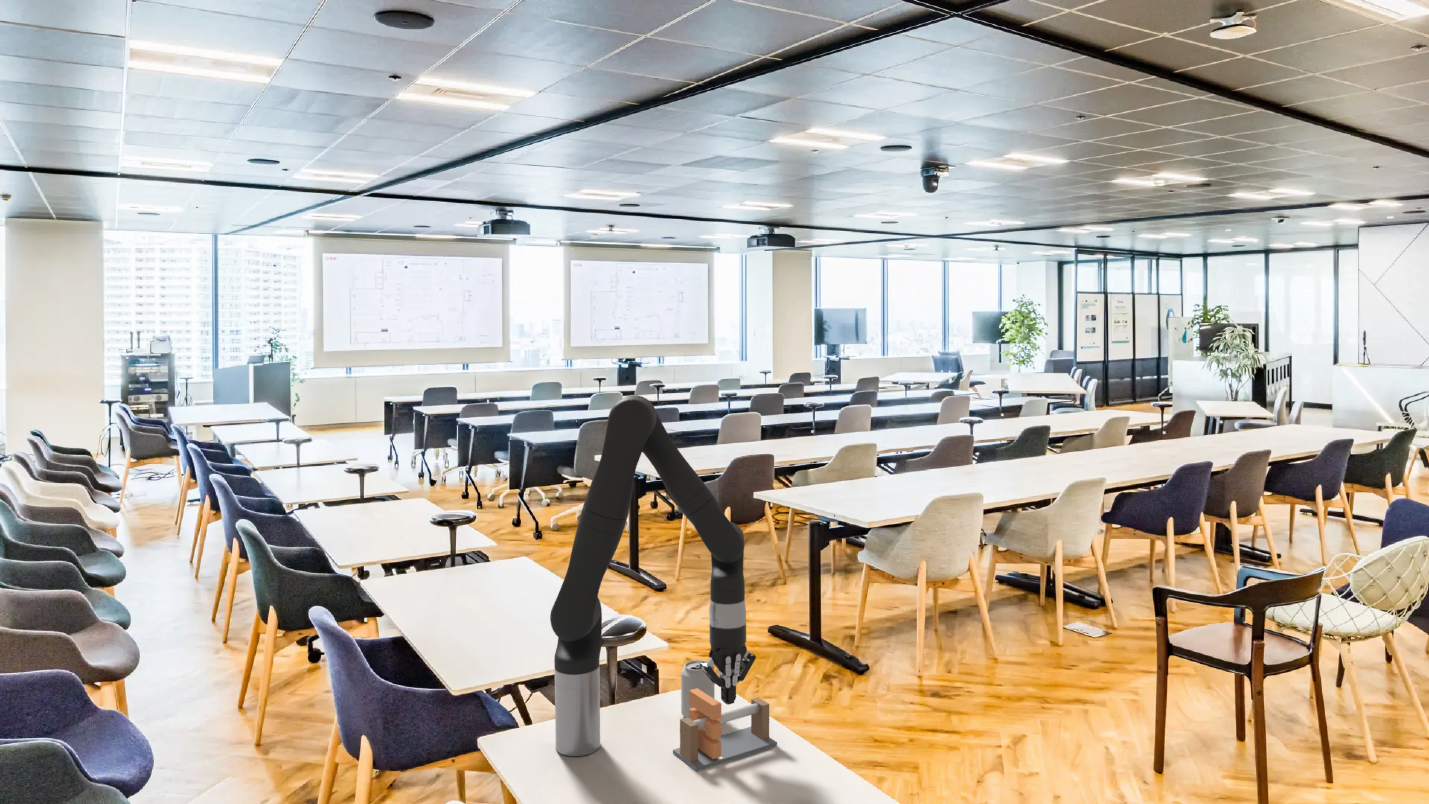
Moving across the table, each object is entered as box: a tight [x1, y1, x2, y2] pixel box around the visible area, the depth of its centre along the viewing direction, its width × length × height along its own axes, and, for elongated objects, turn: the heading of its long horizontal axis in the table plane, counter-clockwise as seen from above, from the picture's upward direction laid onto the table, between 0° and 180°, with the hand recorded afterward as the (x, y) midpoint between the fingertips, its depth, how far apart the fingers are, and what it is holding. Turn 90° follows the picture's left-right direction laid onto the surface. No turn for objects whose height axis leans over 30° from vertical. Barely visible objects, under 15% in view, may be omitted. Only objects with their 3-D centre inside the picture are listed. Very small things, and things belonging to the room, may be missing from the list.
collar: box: [689, 688, 722, 759], centre depth 185 cm, size 2×9×11 cm, turn 34°
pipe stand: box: [672, 697, 778, 772], centre depth 188 cm, size 20×9×8 cm, turn 123°
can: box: [680, 659, 716, 718], centre depth 205 cm, size 8×8×12 cm
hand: (728, 702), depth 188 cm, fingers closed
